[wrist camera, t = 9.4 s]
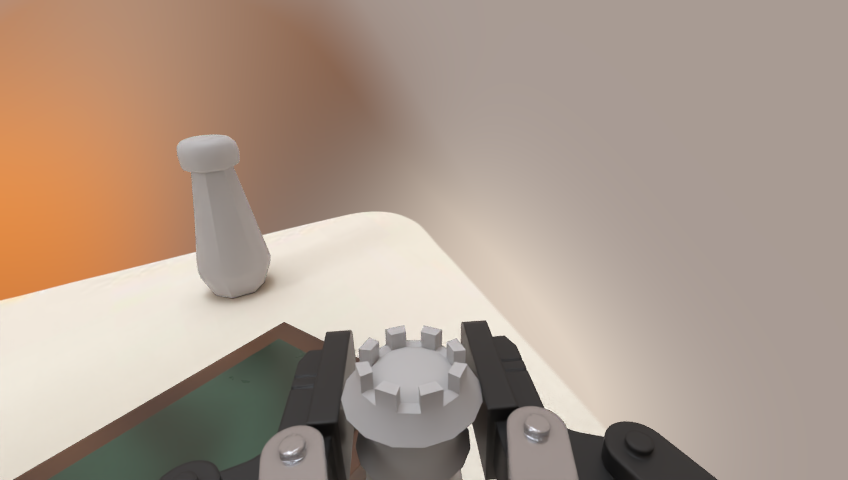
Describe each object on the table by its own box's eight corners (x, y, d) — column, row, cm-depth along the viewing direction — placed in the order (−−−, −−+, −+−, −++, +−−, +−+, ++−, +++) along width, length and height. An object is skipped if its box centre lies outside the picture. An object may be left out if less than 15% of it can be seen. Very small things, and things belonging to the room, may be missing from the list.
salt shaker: (257, 265, 41) (228, 128, 36) (286, 284, 37) (258, 134, 32) (194, 287, 37) (152, 138, 32) (218, 311, 34) (175, 146, 28)
